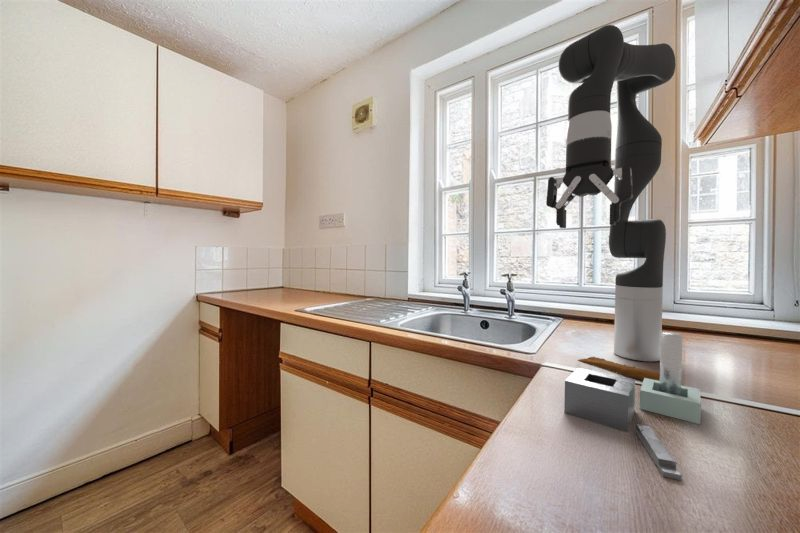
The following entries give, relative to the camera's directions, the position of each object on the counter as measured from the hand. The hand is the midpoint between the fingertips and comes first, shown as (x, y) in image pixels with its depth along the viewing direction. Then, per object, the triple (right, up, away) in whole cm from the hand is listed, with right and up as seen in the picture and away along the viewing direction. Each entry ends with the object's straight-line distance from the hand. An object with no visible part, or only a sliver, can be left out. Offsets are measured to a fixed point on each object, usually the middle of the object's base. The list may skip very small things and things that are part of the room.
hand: (586, 226), depth 61 cm
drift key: (-5, -31, -22) cm, 38 cm away
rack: (+7, -30, -11) cm, 33 cm away
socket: (-5, -30, -12) cm, 33 cm away
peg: (+7, -30, -11) cm, 33 cm away
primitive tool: (+10, -31, +5) cm, 33 cm away
